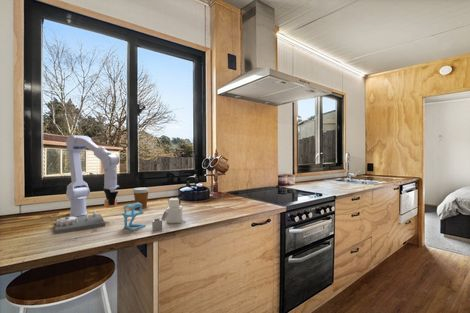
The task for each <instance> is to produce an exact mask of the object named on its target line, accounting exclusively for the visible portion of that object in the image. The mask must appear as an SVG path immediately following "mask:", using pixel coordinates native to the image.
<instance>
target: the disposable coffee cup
mask: <svg viewBox="0 0 470 313" xmlns="http://www.w3.org/2000/svg"><path fill="white" fill-rule="evenodd" d="M132 192H133V196H134V203H136V202H139V203H141V204H142V208H141V209H145V208H148V207H147V205H148V199H149V198H148V197H149V192H150V190H149V187H145V186H144V187H135V188H133V191H132ZM136 209H139V210H140V207H137V208H136Z"/></svg>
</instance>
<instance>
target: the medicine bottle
mask: <svg viewBox="0 0 470 313" xmlns="http://www.w3.org/2000/svg"><path fill="white" fill-rule="evenodd" d="M181 200H182V199H181V197H178V196H177V197H176V196H175V197H170V198H169V199H168V207H167V208H166V210H165V211H167V212H168V215H167V217H166V219H165V223H166V224H176V223H177V224H181V222H182V220H183V205H181V203H182V202H181Z"/></svg>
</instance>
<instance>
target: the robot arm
mask: <svg viewBox="0 0 470 313" xmlns="http://www.w3.org/2000/svg"><path fill="white" fill-rule="evenodd" d="M65 144H66V150H67V155H68V161H69V171H70V179H71V182H70V183H69V184H68V185H67V186H66V193H65V194H66V197H67V198H68V200H70V202H69V203H70V212H69V217H72V216H74V217H81V216H85V215H88V211H87V198H88V196H90V191H91V190H90V188H89V185H88V183H87V182H86V181H85V180H84V178H83V176H84V175H83V169H82V160H81V152H82V151H84V150H85V149H89V150H90V151H92V153H93V155H94V156H95V157H96V158H97V159H98V160H100V161H101V164H102V168H103V170H104V176H103V178H104V181H103V184H104V186H103V192H104V195H105V198H106V199H108V202H109V205H114V203H115V199H117V195H118V194H119V191H118V190H116V189H117V188H120V185H119V184H118V167H117V166H118V165H119V164H120V157H119V156H118V154H116V153H115V154H114V153H111V151H108V150H107V149H106V147H105V146H99V145H98V144H96V143H95V142H94V141H93V140H92V138H91V137H89V136H88V135H78V134H77V135H76V134H75V135H74V134H69V135H68V136H67V138H65ZM106 199H105V200H106Z"/></svg>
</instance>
